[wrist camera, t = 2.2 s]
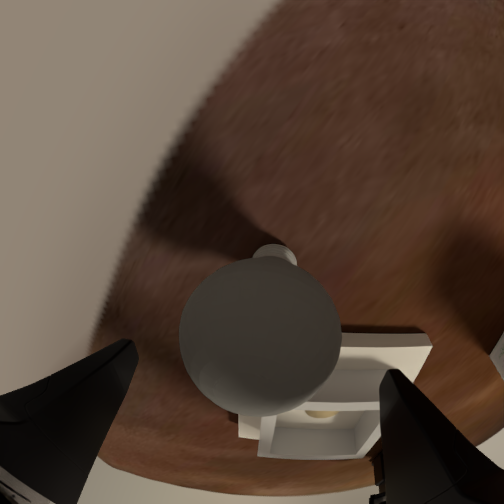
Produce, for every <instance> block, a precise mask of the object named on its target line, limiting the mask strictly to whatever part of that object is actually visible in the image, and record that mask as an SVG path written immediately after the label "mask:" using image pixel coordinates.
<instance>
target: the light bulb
mask: <svg viewBox="0 0 504 504" xmlns="http://www.w3.org/2000/svg"><path fill="white" fill-rule="evenodd" d="M341 343H342V331H341V324H340V319H339V315H338V313H337V310H336V308H335V305H334V303H333V301H332V299H331V297H330V296H329V295H328V293H327V292H326V290H325V289H324V288H323V286H322V285H321V284H320V283H319V282H318V281H317V280H316V279H315V278H314V277H313V276H312V275H310V274H309V273H308V272H306V271H305V270H303V269H301V268H300V267H298V266H297V261H296V258H295V256H294V254H293V253H292V251H291V250H289V249H288V248H287V247H285V246H282V245H279V244H268V245H265V246H262V247H261V248H259V249H258V250H257V251H256V252H255V253H254V255H253V257H252V258H249V259H244V260H239V261H236V262H233V263H231V264H229V265H226V266H224V267H222V268H220V269H218V270H217V271H216V272H214V273H213V274H211V275H210V276H208V277H207V278H206V279H205V280H204V281H203V282H202V283H201V284H200V285H199V286H198V287H197V288H196V289H195V291H194V292H193V293H192V295H191V296H190V298H189V299H188V301H187V303H186V305H185V307H184V309H183V312H182V316H181V321H180V326H179V345H180V351H181V356H182V359H183V362H184V365H185V367H186V370H187V372H188V374H189V376H190V377H191V379H192V380H193V382H194V383H195V385H196V386H197V387H198V389H199V390H200V391H201V392H202V393H203V394H204V395H205V396H206V397H207V398H209V399H210V400H211V401H213V402H214V403H215V404H216V405H218V406H220V407H222V408H223V409H226V410H228V411H230V412H233V413H236V414H240V415H245V416H252V417H267V416H273V415H278V414H281V413H284V412H287V411H290V410H292V409H294V408H296V407H298V406H300V405H302V404H303V403H305V402H306V401H308V400H309V399H310V398H312V397H313V396H314V395H315V394H316V393H317V392H318V391H319V390H320V389H321V388H322V387H323V386H324V384H325V383H326V382H327V381H328V379H329V377H330V376H331V374H332V372H333V370H334V368H335V366H336V364H337V361H338V358H339V355H340V349H341Z"/></svg>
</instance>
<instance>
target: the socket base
mask: <svg viewBox="0 0 504 504" xmlns="http://www.w3.org/2000/svg"><path fill="white" fill-rule="evenodd" d="M431 348H432V344H431V342H430V340H429V338H428V336H427V334H426V333H419V334H367V333H342V343H341V349H340V355H339V358H338V361H337V364H336V366H335V368H334V370H333V372H332V374H331V376H330V377H329V379H328V381H327V382H326V383H325V384H324V386H323V387H322V388H321V389H320V390H319V391H318V392H317V393H316V394H315V395H314V396H313V397H312V398H310V399H309V400H308V401H306V402H305V403H303V404H302V405H300V406H298V407H296V408H294V409H292V410H290V411H287V412H284V413H281V414H278V415H273V416H267V417H252V416H245V415H240V414H238V424H239V437H243V438H250V439H258V440H259V446H258V455H257V456H261V457H271V458H283V459H304V460H335V459H355V458H363V457H364V456H365V455H366V454H367V452H368V451H369V450H370V449H371V448H372V446H373V445H374V444H375V443H376V441H377V440H378V439H379V438H380V436H381V431H380V405H379V386H380V383H381V381H382V379H383V377H384V375H385V373H386V371H387V370H388V369H399V370H401V371H402V373H403V374H404V375H405V376H406V377H407V378H408V379H409V380H410V381H411V382H412V383H413V382H414V380H415V378H416V376H417V375H418V373H419V371H420V369H421V367H422V366H423V364H424V362H425V360H426V358H427V356H428V354H429V352H430V350H431Z"/></svg>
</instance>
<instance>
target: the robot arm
mask: <svg viewBox="0 0 504 504" xmlns="http://www.w3.org/2000/svg"><path fill="white" fill-rule="evenodd" d="M138 360H139V356H138V353H137V350H136V346H135V343H134V342H133V341H132V340H129V339H125V338H123V339H121V340H119V341H117V342H115V343H113V344H111V345H109V346H107V347H105V348H103V349H101V350H99V351H97V352H95V353H93V354H91V355H90V356H88V357H86V358H84V359H82V360H80V361H78V362H76V363H74V364H72V365H70V366H68V367H66V368H64V369H62V370H60V371H58V372H56V373H54V374H52V375H51V376H48V377H46V378H44V379H41V380H39V381H37V382H35V383H33V384H31V385H28V386H25V387H23V388H20V389H17V390H15V391H12V392H9V393H6V394H3V395H0V504H49V503H50V501H52V502H54V503H55V504H77V502H78V499H79V497H80V495H81V492H82V490H83V487H84V485H85V482H86V480H87V478H88V475H89V473H90V470H91V468H92V466H93V464H94V461H95V459H96V457H97V455H98V452H99V450H100V448H101V446H102V444H103V441H104V439H105V437H106V435H107V433H108V431H109V429H110V426H111V424H112V422H113V420H114V418H115V416H116V414H117V412H118V410H119V408H120V406H121V404H122V402H123V400H124V398H125V395H126V393H127V391H128V388H129V385H130V383H131V380H132V377H133V374H134V372H135V369H136V366H137V364H138ZM379 405H380V431H381V439H382V448H383V451H382V452H381V453H380V454H379V455H378V456H377V457H376V459H375V460H374V461H373V462H372V465H374V476H375V485H376V486H379V494H376V495H375V494H374V495H371V496H370V498H369V504H504V470H503V469H501V468H500V467H498V466H497V465H496V464H495V463H494V462H492V461H491V460H490V459H489V458H488V457H486V456H485V455H484V454H483V453H482V452H481V451H479V450H478V449H477V448H476V447H475V446H474V445H473V444H472V443H471V442H470V441H469V440H468V439H467V438H466V437H465V436H464V435H463V434H462V433H461V432H460V431H459V430H458V429H457V430H456V427H455V426H454V425H453V424H452V423H451V422H450V421H449V420H448V419H447V418H446V417H445V416H444V414H443V413H442V412H441V411H440V410H439V409H438V408H437V407H436V406H435V405H434V404H433V403H432V402H431V401H430V400H429V399H428V398H427V397H426V396H425V395H424V394H423V393H422V392H421V391H420V390H419V389H418V388H417V387H416V386H415V385H414V384H413V383H412V382H411V381H410V380H409V379H408V378H407V377H406V376H405V375H404V374H403V373H402V371H401V370H399V369H388V370H387V371H386V373H385V375H384V377H383V379H382V381H381V383H380V386H379Z"/></svg>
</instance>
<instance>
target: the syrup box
mask: <svg viewBox="0 0 504 504" xmlns="http://www.w3.org/2000/svg"><path fill="white" fill-rule="evenodd" d="M489 357H490V359H491V360H492V362H493V363H494V365H495V367H496V368H497V370H498V372H499V373H500V375H501V377H502V378H503V380H504V332H503V334H502V336H501V338H500V339H499V341H498V343H497V344H496V346H495V347H494V349H493V351H492V352H491V354H490V355H489Z"/></svg>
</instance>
